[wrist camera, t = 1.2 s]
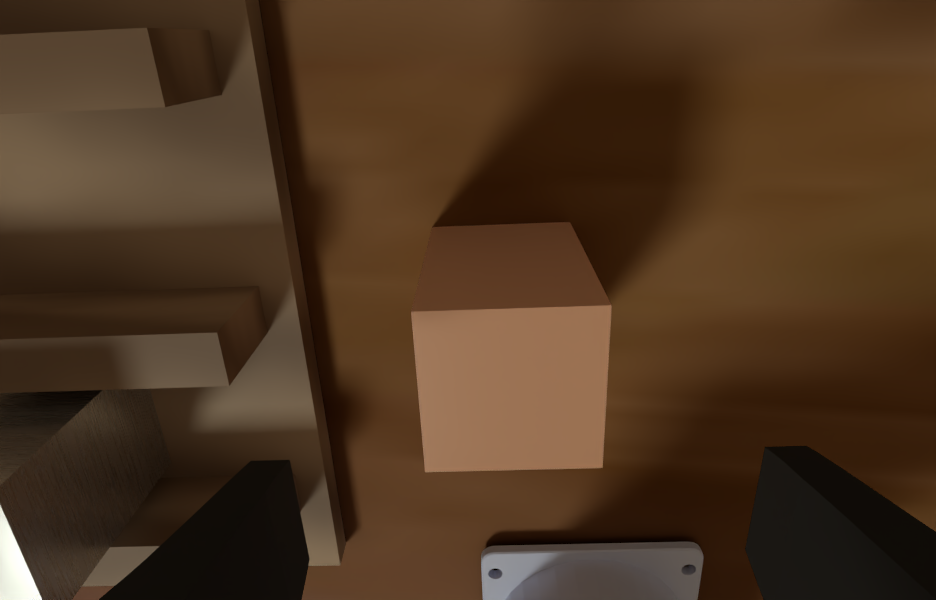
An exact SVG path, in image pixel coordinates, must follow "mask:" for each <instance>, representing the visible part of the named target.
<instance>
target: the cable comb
mask: <svg viewBox="0 0 936 600" xmlns="http://www.w3.org/2000/svg"><path fill="white" fill-rule="evenodd" d="M120 389H150V391H151V395H152V398H153V401H154V405H155V408H156V412H157V415H158V419H159V422H160V426H161V429H162V432H163V436H164V439H165V443H166V446H167V450H168V453H169V457H170V460H171V464H170V465H169V466H168V468H167V469H166V471H165V472H164V473H163V475H162V476H161V477H160V479H159V480H158V482H157V483H156V484H155V486H154V487H153V488H152V490H151V491H150V493H149V494H148V495H147V497H146V498H145V500H144V501H143V502H142V504H141V505H140V506H139V508H138V509H137V511H136V512H135V513H134V515H133V516H132V517H131V519H130V520H129V522H128V523H127V524H126V526H125V527H124V528H123V530H122V531H121V533H120V534H119V535H118V537H117V538H116V540H115V541H114V542H113V544H112V545H111V546H110V548H109V549H108V551H107V552H106V553H105V555H104V556H103V557H102V559H101V560H100V562H99V563H98V564H97V566H96V567H95V568H94V570H93V571H92V573H91V574H90V575H89V577H88V578H87V580H86V581H85V582H84V584H83V585H82V586H115V585H117V584H118V583H119V582H120V581H121V580H122V579H124V578H125V577H126V576H127V575H128V574H129V573H131V572H132V571H133V570H134V569H135V568H136V567H137V566H139V565H140V564H141V563H142V562H143V561H144V560H145V559H146V558H147V557H148V556H150V555H151V554H152V553H153V552H154V551H155V550H156V549H157V548H158V547H159V546H160V545H161V544H163V543H164V542H165V541H166V540H167V539H168V538H169V537H170V536H171V535H172V534H173V533H174V532H175V531H177V530H178V529H179V528H180V527H181V526H182V525H183V524H184V523H185V522H186V521H187V520H188V519H189V518H190V517H192V516H193V515H194V514H195V513H196V512H197V511H198V510H199V509H200V508H201V507H202V506H203V505H204V504H205V503H206V502H207V501H208V500H209V499H210V498H211V497H212V496H214V495H215V494H216V493H217V492H218V491H219V490H220V489H221V488H222V487H223V486H224V485H225V484H226V483H227V482H228V481H229V480H230V479H231V478H232V477H233V476H235V475H236V474H237V473H238V472H239V471H240V470H241V469H242V468H243V467H244V466H245V465H247V464H248V463H249V462H250V461H261V460H290V463H291V468H292V473H293V478H294V483H295V488H296V493H297V498H298V503H299V508H300V513H301V518H302V523H303V528H304V533H305V538H306V543H307V548H308V553H309V558H310V560H309V565H308V566H325V565H341V561H342V557H343V553H344V549H345V545H346V541H345V535H344V528H343V522H342V516H341V510H340V503H339V497H338V491H337V485H336V479H335V472H334V466H333V460H332V454H331V447H330V441H329V435H328V429H327V423H326V416H325V410H324V404H323V398H322V392H321V385H320V379H319V373H318V367H317V360H316V354H315V348H314V342H313V336H312V329H311V323H310V317H309V311H308V304H307V298H306V292H305V286H304V280H303V273H302V267H301V261H300V255H299V248H298V242H297V236H296V230H295V224H294V217H293V211H292V205H291V199H290V193H289V186H288V180H287V174H286V168H285V161H284V155H283V149H282V143H281V137H280V130H279V124H278V118H277V112H276V105H275V99H274V93H273V87H272V81H271V74H270V68H269V62H268V56H267V50H266V43H265V37H264V31H263V25H262V18H261V12H260V6H259V0H0V393H19V392H52V391H86V390H120Z"/></svg>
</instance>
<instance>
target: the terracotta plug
mask: <svg viewBox="0 0 936 600" xmlns="http://www.w3.org/2000/svg"><path fill="white" fill-rule="evenodd" d="M611 307H612V305H611V303H610V301H609V299H608V297H607V295H606V293H605V291H604V289H603V287H602V285H601V283H600V281H599V279H598V277H597V275H596V273H595V271H594V269H593V267H592V265H591V263H590V261H589V259H588V257H587V255H586V253H585V251H584V249H583V247H582V245H581V243H580V241H579V239H578V237H577V235H576V233H575V231H574V229H573V227H572V225H571V223H570V222H553V223H526V224H499V225H472V226H445V227H432V230H431V234H430V238H429V242H428V246H427V250H426V254H425V258H424V262H423V266H422V270H421V274H420V278H419V282H418V286H417V290H416V294H415V298H414V302H413V306H412V310H411V316H412V327H413V338H414V350H415V361H416V373H417V384H418V396H419V407H420V418H421V430H422V441H423V453H424V464H425V472H451V471H494V470H536V469H578V468H603V450H604V432H605V414H606V396H607V378H608V360H609V342H610V324H611Z"/></svg>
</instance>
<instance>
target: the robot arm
mask: <svg viewBox="0 0 936 600" xmlns="http://www.w3.org/2000/svg"><path fill="white" fill-rule="evenodd" d="M745 550H746V553H747V555H748V558H749V561H750V564H751V566H752V569H753V572H754V575H755V578H756V580H757V583H758V586H759V588H760V591H761V594H762V596H763V599H764V600H936V532H935V531H934V530H932V529H931V528H929V527H928V526H926V525H925V524H923V523H922V522H920V521H919V520H917V519H916V518H914V517H913V516H911V515H910V514H908V513H907V512H905V511H904V510H902V509H901V508H899V507H898V506H896V505H895V504H894V503H892V502H891V501H889V500H888V499H886V498H885V497H883V496H882V495H880V494H879V493H877V492H876V491H874V490H873V489H872V488H870V487H869V486H867V485H866V484H864V483H863V482H861V481H860V480H858V479H857V478H855V477H854V476H852V475H851V474H849V473H848V472H846V471H845V470H843V469H842V468H840V467H839V466H837V465H836V464H834V463H833V462H831V461H830V460H828V459H827V458H825V457H824V456H822V455H820V454H819V453H817V452H816V451H814V450H812V449H811V448H809V447H807V446H785V447H765V450H764V455H763V460H762V465H761V471H760V476H759V481H758V486H757V491H756V497H755V502H754V507H753V512H752V517H751V522H750V528H749V533H748V538H747V543H746V548H745ZM703 559H704V557H703V553H702V550H701V548H700V547H699V545H698V544H696V543H694V542H645V543H598V544H551V545H504V546H490V547H488V548H486V549H484V551H483V552H482V555H481V569H482V591H483V600H698V593H699V586H700V580H701V573H702V566H703ZM309 560H310V558H309V553H308V548H307V543H306V538H305V533H304V528H303V523H302V518H301V513H300V508H299V503H298V498H297V493H296V488H295V483H294V478H293V473H292V468H291V463H290V460H261V461H250V462H249V463H248V464H247V465H245V466H244V467H243V468H242V469H241V470H240V471H239V472H238V473H237V474H236V475H235V476H233V477H232V478H231V479H230V480H229V481H228V482H227V483H226V484H225V485H224V486H223V487H222V488H221V489H220V490H219V491H218V492H217V493H216V494H215V495H214V496H212V497H211V498H210V499H209V500H208V501H207V502H206V503H205V504H204V505H203V506H202V507H201V508H200V509H199V510H198V511H197V512H196V513H195V514H194V515H193V516H192V517H190V518H189V519H188V520H187V521H186V522H185V523H184V524H183V525H182V526H181V527H180V528H179V529H178V530H177V531H175V532H174V533H173V534H172V535H171V536H170V537H169V538H168V539H167V540H166V541H165V542H164V543H163V544H161V545H160V546H159V547H158V548H157V549H156V550H155V551H154V552H153V553H152V554H151V555H150V556H148V557H147V558H146V559H145V560H144V561H143V562H142V563H141V564H140V565H139V566H137V567H136V568H135V569H134V570H133V571H132V572H131V573H129V574H128V575H127V576H126V577H125V578H124V579H122V580H121V581H120V582H119V583H118V584H117V585H115V586H114V587H113V588H112V589H111V590H110V591H108V592H107V593H106V594H105V595H104V596H103V597H101V598H100V599H99V600H301V599H302V595H303V590H304V585H305V580H306V575H307V570H308V565H309ZM689 564H690V565H689ZM685 565H689V566H685ZM684 566H685V567H684ZM494 568H496V569H499V570H491V569H494Z"/></svg>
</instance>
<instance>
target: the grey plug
mask: <svg viewBox="0 0 936 600" xmlns="http://www.w3.org/2000/svg"><path fill="white" fill-rule="evenodd" d="M170 464H171V460H170V457H169V453H168V450H167V446H166V443H165V439H164V436H163V432H162V429H161V426H160V422H159V419H158V415H157V412H156V408H155V405H154V401H153V398H152V395H151V391H150V389H120V390H86V391H52V392H19V393H0V600H72V599H73V597H74V596H75V595H76V593H77V592H78V591H79V589H80V588H81V586H82V585H83V584H84V582H85V581H86V580H87V578H88V577H89V575H90V574H91V573H92V571H93V570H94V568H95V567H96V566H97V564H98V563H99V562H100V560H101V559H102V557H103V556H104V555H105V553H106V552H107V551H108V549H109V548H110V546H111V545H112V544H113V542H114V541H115V540H116V538H117V537H118V535H119V534H120V533H121V531H122V530H123V528H124V527H125V526H126V524H127V523H128V522H129V520H130V519H131V517H132V516H133V515H134V513H135V512H136V511H137V509H138V508H139V506H140V505H141V504H142V502H143V501H144V500H145V498H146V497H147V495H148V494H149V493H150V491H151V490H152V488H153V487H154V486H155V484H156V483H157V482H158V480H159V479H160V477H161V476H162V475H163V473H164V472H165V471H166V469H167V468H168V466H169V465H170Z"/></svg>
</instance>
